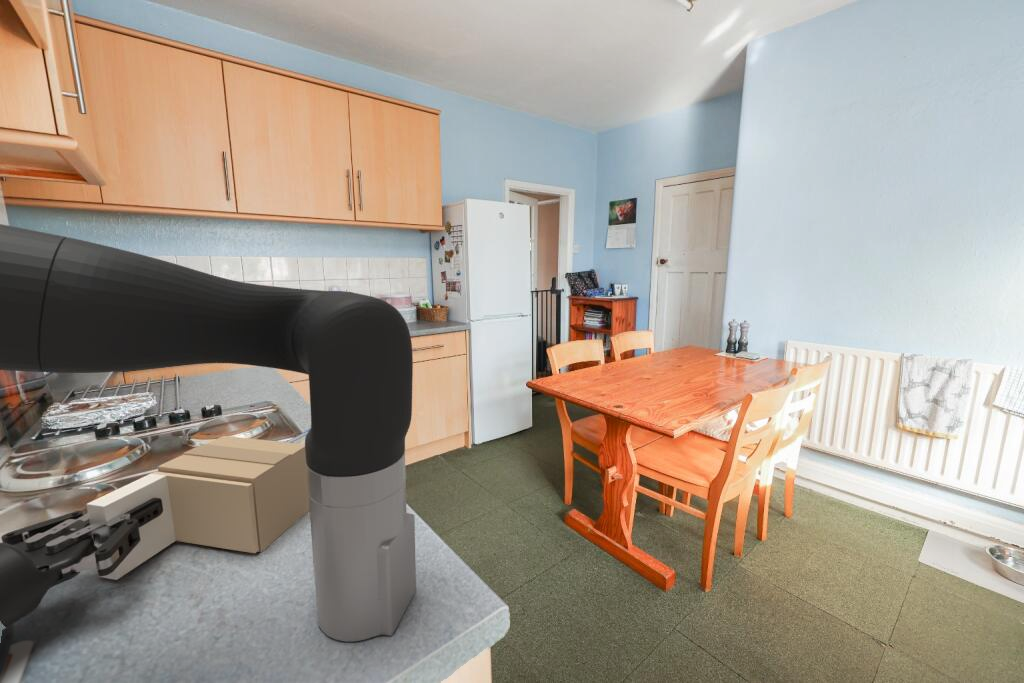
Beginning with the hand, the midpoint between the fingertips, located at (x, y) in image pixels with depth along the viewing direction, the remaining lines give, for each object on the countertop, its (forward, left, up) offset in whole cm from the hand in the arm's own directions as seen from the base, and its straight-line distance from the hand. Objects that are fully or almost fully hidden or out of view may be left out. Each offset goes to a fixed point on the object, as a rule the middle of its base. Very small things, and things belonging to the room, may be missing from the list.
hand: (148, 503), depth 52 cm
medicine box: (-9, -19, -7) cm, 22 cm away
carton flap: (-6, +2, -6) cm, 8 cm away
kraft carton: (-6, -8, -6) cm, 12 cm away
